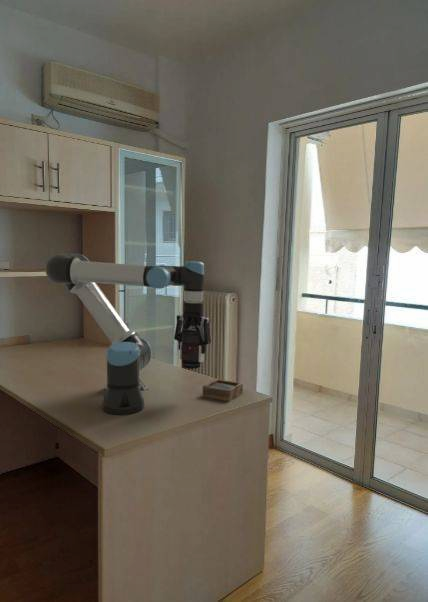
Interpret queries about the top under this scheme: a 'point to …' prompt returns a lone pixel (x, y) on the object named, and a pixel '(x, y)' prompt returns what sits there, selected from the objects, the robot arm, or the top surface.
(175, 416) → the top surface
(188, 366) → the camera lens
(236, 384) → the square wooden tray
